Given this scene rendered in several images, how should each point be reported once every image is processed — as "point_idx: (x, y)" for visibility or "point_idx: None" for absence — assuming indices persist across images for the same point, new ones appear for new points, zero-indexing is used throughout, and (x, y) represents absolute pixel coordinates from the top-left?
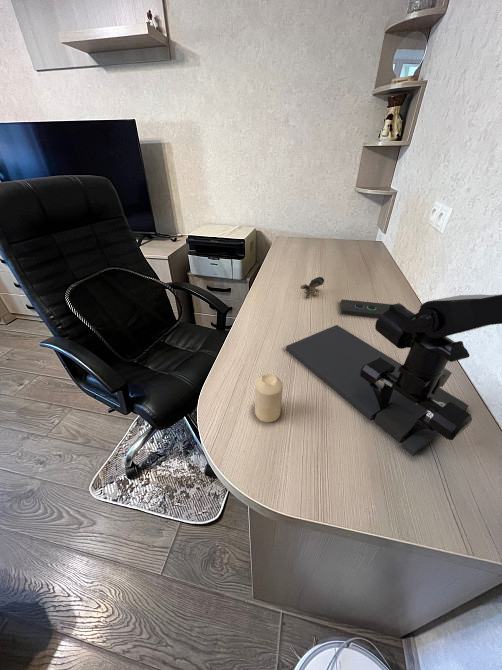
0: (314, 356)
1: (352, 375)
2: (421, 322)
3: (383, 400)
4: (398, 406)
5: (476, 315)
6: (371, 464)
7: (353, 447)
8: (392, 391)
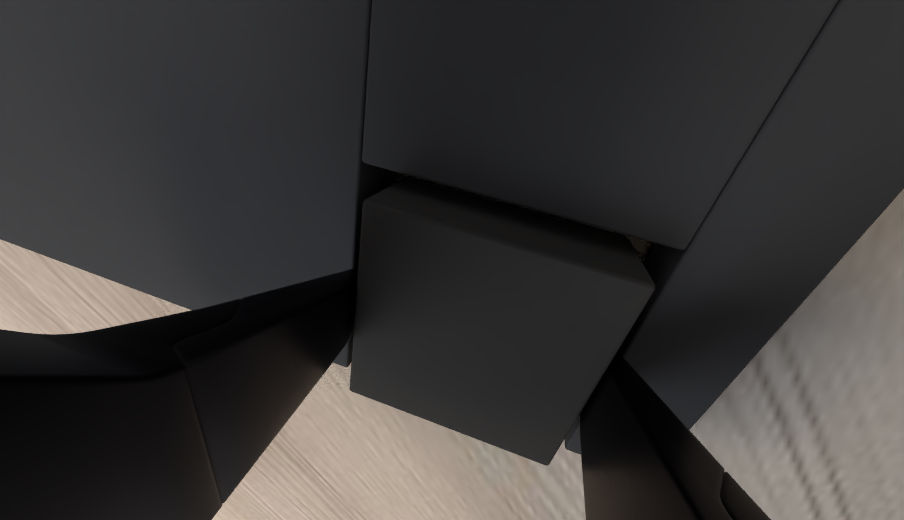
0: None
1: (24, 95)
2: None
3: (264, 434)
4: (413, 238)
5: None
6: (485, 511)
7: (402, 478)
8: (190, 368)
